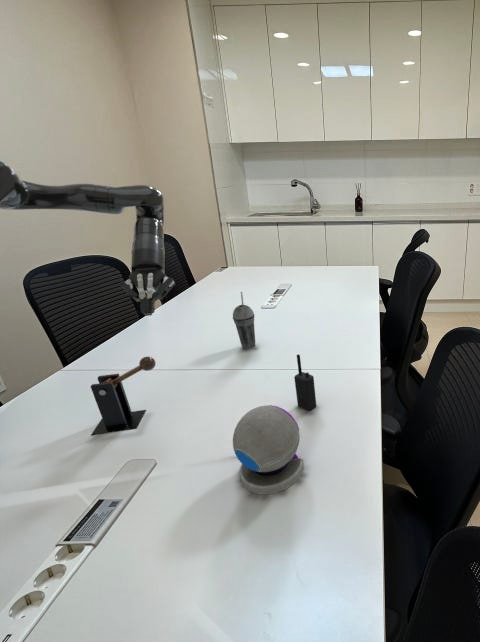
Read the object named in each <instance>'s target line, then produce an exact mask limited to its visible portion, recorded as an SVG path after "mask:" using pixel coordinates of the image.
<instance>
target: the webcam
mask: <svg viewBox="0 0 480 642" xmlns="http://www.w3.org/2000/svg"><path fill="white" fill-rule="evenodd" d="M300 435H301V434H300V428H299V425H298V423H297V420H296V419H295V418H294V417H293V415H292V414H291V413H290V412H288V411H287V410H285V409H284V408H282V407H280V406H277V405H272V404H270V405H269V404H268V405H267V404H266V405H260V406H256V407H254V408H252V409H250V410H249V411H247V412H246V413H245V414H243V416H242V417H241V418H240V419H239V421H238V422H237V424H236V426H235V428H234V431H233V435H232V448H233V451H234V455H235V456H236V458H237V460H238V461H239V463H241V465H240V468H239V478H240V483H241V485H242V486H243V487H244V489H246V490H247V491H249V492H251V493H254V494H259V495H270V494H275V493H280V492H282V491H285V490H286V489H288V488H289V487H291V486H293V485H294V484H295V483H296V482H298V480H299V479H300V478H301V476H302V474H303V472H304V466H305V464H304V459H303V458H302V457H299V456H298V455H297V454H296V453H297V451H298V449H299V446H300V439H301V438H300V437H301V436H300Z"/></svg>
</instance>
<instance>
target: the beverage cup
mask: <svg viewBox="0 0 480 642" xmlns="http://www.w3.org/2000/svg"><path fill="white" fill-rule="evenodd" d="M240 298H241V304H239V305H237V306H236V307H235V308H234V309H233V312H232V320H233V322H234V324H235V327H236V328H235V329H236V331H237V335H238V338H239V342H240V345H241V348H242V349H243V350H252V349H254V348H256V332H255V313H254V310H253V309H252V308H251V307H250V306H249V305H247V304H245V303H244V294H243V291H240Z"/></svg>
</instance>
